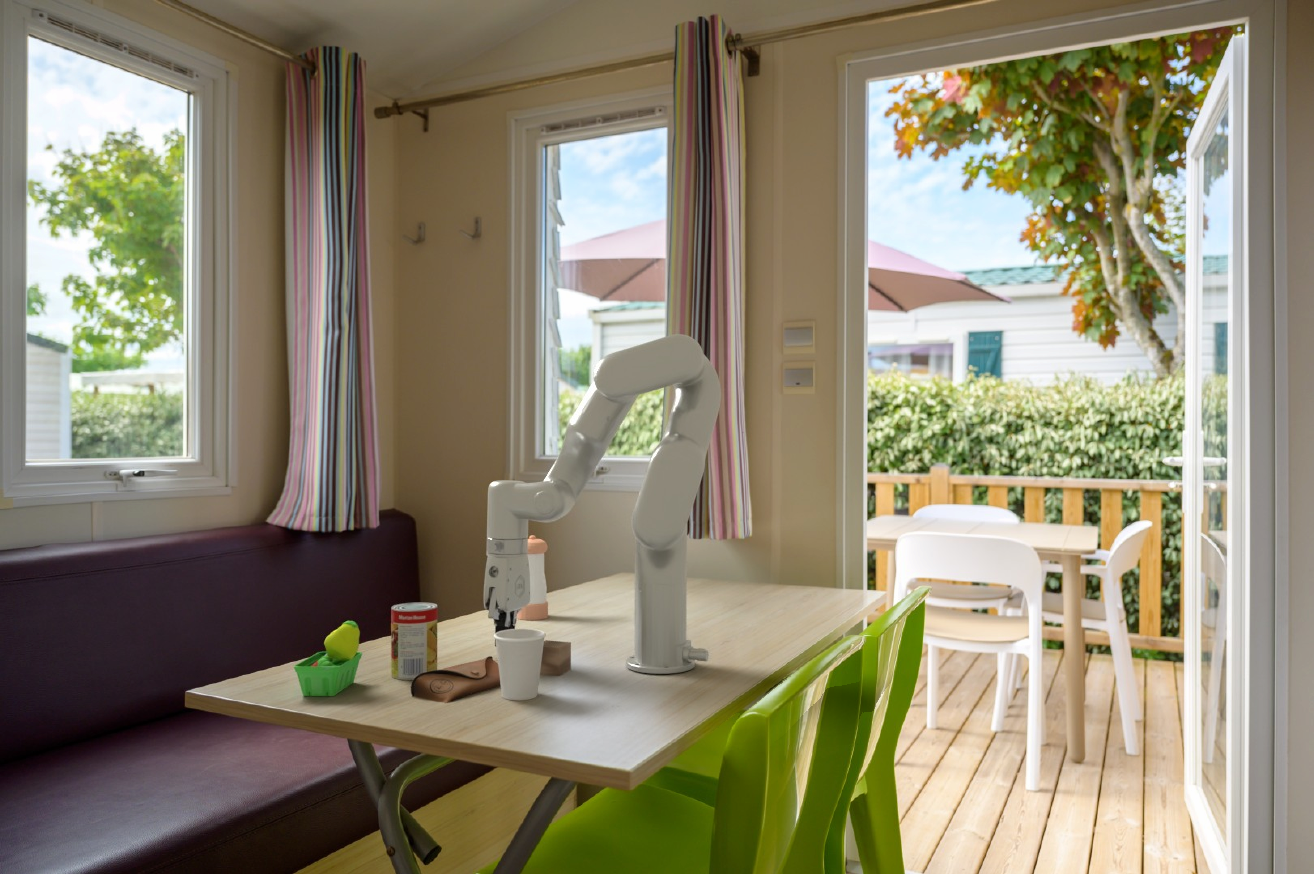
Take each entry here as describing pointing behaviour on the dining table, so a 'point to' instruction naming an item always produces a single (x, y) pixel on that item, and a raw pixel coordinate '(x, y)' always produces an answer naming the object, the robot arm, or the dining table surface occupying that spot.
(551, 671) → the walnut block
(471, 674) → the sunglasses case
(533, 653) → the dixie cup
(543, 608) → the pepper shaker
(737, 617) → the dining table surface
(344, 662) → the fruit basket
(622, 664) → the dining table surface
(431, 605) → the canned food
